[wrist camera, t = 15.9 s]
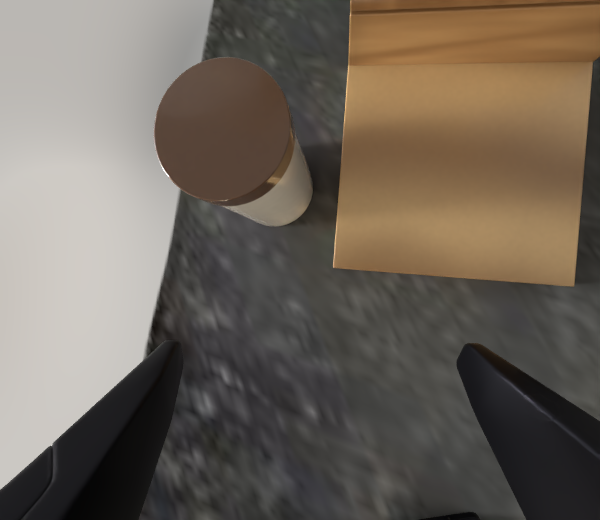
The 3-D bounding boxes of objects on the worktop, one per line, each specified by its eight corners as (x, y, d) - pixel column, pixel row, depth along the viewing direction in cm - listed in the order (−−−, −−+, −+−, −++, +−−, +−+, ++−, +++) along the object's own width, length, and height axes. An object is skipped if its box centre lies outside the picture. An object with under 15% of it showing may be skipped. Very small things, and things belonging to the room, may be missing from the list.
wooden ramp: (550, 284, 19) (673, 298, 12) (334, 266, 21) (329, 270, 14) (568, 65, 19) (703, -51, 12) (349, 69, 21) (352, -29, 14)
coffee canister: (331, 186, 21) (321, 122, 11) (274, 244, 22) (218, 230, 12) (275, 132, 22) (220, 26, 12) (222, 189, 22) (126, 134, 13)
